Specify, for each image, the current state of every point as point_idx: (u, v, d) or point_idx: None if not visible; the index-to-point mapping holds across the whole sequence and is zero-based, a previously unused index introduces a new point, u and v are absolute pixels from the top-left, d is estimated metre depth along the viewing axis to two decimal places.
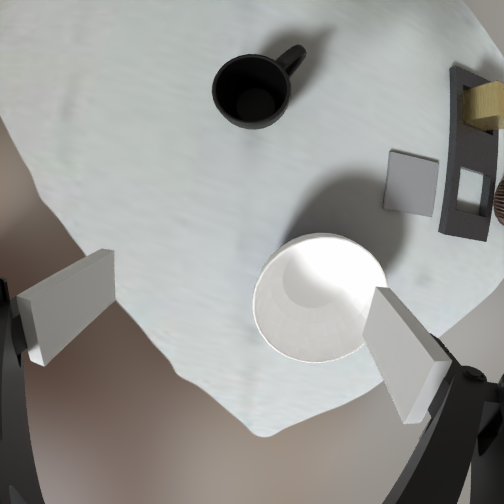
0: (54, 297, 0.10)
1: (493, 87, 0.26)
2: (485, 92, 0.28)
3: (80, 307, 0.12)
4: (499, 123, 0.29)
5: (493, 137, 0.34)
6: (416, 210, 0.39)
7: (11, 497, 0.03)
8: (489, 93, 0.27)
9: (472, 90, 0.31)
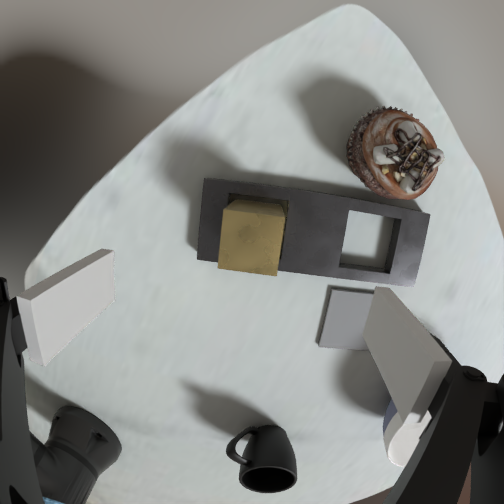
0: (54, 297, 0.10)
1: None
2: None
3: (80, 307, 0.12)
4: None
5: (292, 200, 0.32)
6: None
7: (11, 497, 0.03)
8: None
9: None
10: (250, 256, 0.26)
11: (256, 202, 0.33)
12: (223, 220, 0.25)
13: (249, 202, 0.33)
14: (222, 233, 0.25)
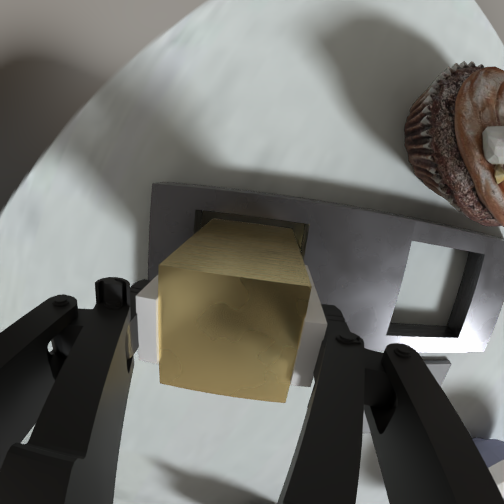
0: None
1: None
2: None
3: None
4: None
5: (314, 223, 0.17)
6: None
7: None
8: None
9: None
10: (226, 368, 0.11)
11: (247, 226, 0.18)
12: (160, 290, 0.10)
13: (234, 227, 0.17)
14: (161, 318, 0.10)
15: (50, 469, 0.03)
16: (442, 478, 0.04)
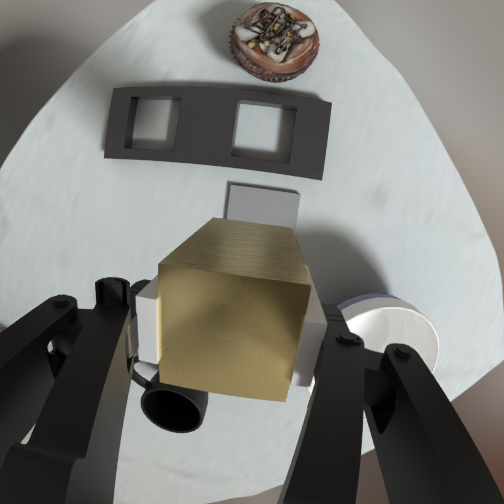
0: None
1: None
2: None
3: None
4: None
5: (183, 95, 0.31)
6: (292, 218, 0.36)
7: None
8: None
9: None
10: (226, 367, 0.11)
11: (247, 225, 0.18)
12: (160, 289, 0.10)
13: (234, 226, 0.17)
14: (161, 317, 0.10)
15: (50, 469, 0.03)
16: (442, 478, 0.04)
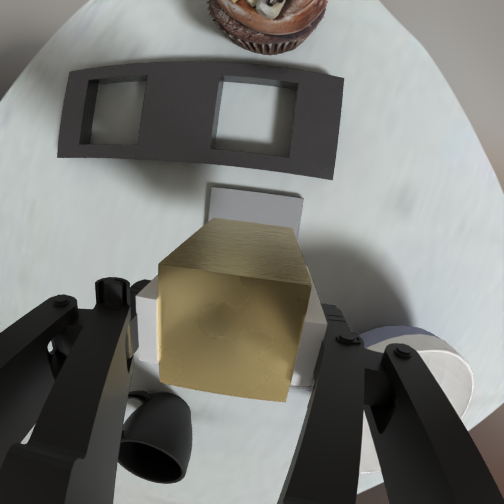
0: None
1: None
2: None
3: None
4: None
5: (151, 73, 0.23)
6: (293, 230, 0.27)
7: None
8: None
9: None
10: (226, 367, 0.11)
11: (248, 225, 0.18)
12: (160, 289, 0.10)
13: (234, 226, 0.17)
14: (161, 317, 0.10)
15: (50, 469, 0.03)
16: (442, 477, 0.04)
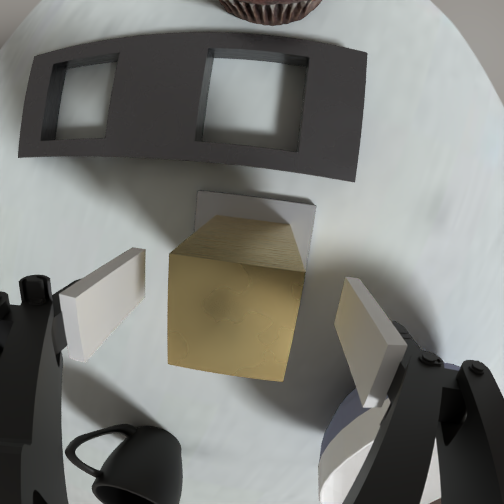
0: (95, 294, 0.10)
1: None
2: None
3: (116, 304, 0.12)
4: None
5: (123, 50, 0.17)
6: (302, 246, 0.21)
7: (34, 500, 0.03)
8: None
9: None
10: (229, 348, 0.12)
11: (248, 221, 0.20)
12: (170, 276, 0.11)
13: (235, 223, 0.19)
14: (170, 302, 0.12)
15: (3, 456, 0.03)
16: (495, 487, 0.03)
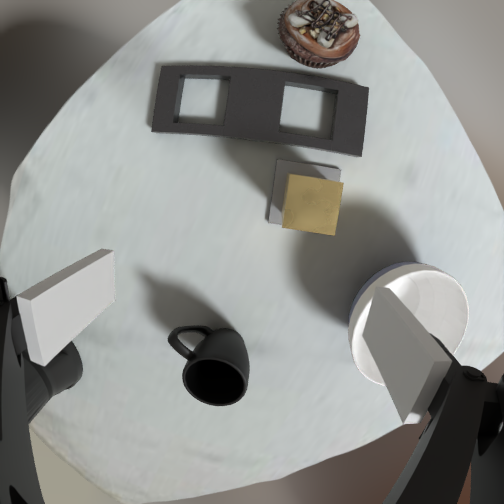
0: (54, 297, 0.10)
1: None
2: None
3: (80, 307, 0.12)
4: None
5: (233, 75, 0.33)
6: None
7: (11, 497, 0.03)
8: None
9: None
10: (312, 217, 0.28)
11: None
12: (289, 183, 0.28)
13: None
14: (288, 195, 0.28)
15: None
16: None
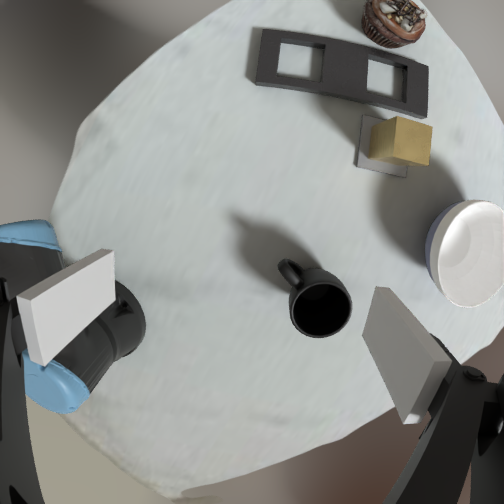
0: (54, 297, 0.10)
1: (396, 158, 0.33)
2: (393, 159, 0.35)
3: (80, 307, 0.12)
4: None
5: (327, 44, 0.36)
6: None
7: (11, 497, 0.03)
8: (398, 159, 0.34)
9: (378, 158, 0.38)
10: (413, 150, 0.31)
11: None
12: (397, 123, 0.31)
13: None
14: (396, 131, 0.31)
15: None
16: None
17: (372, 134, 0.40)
